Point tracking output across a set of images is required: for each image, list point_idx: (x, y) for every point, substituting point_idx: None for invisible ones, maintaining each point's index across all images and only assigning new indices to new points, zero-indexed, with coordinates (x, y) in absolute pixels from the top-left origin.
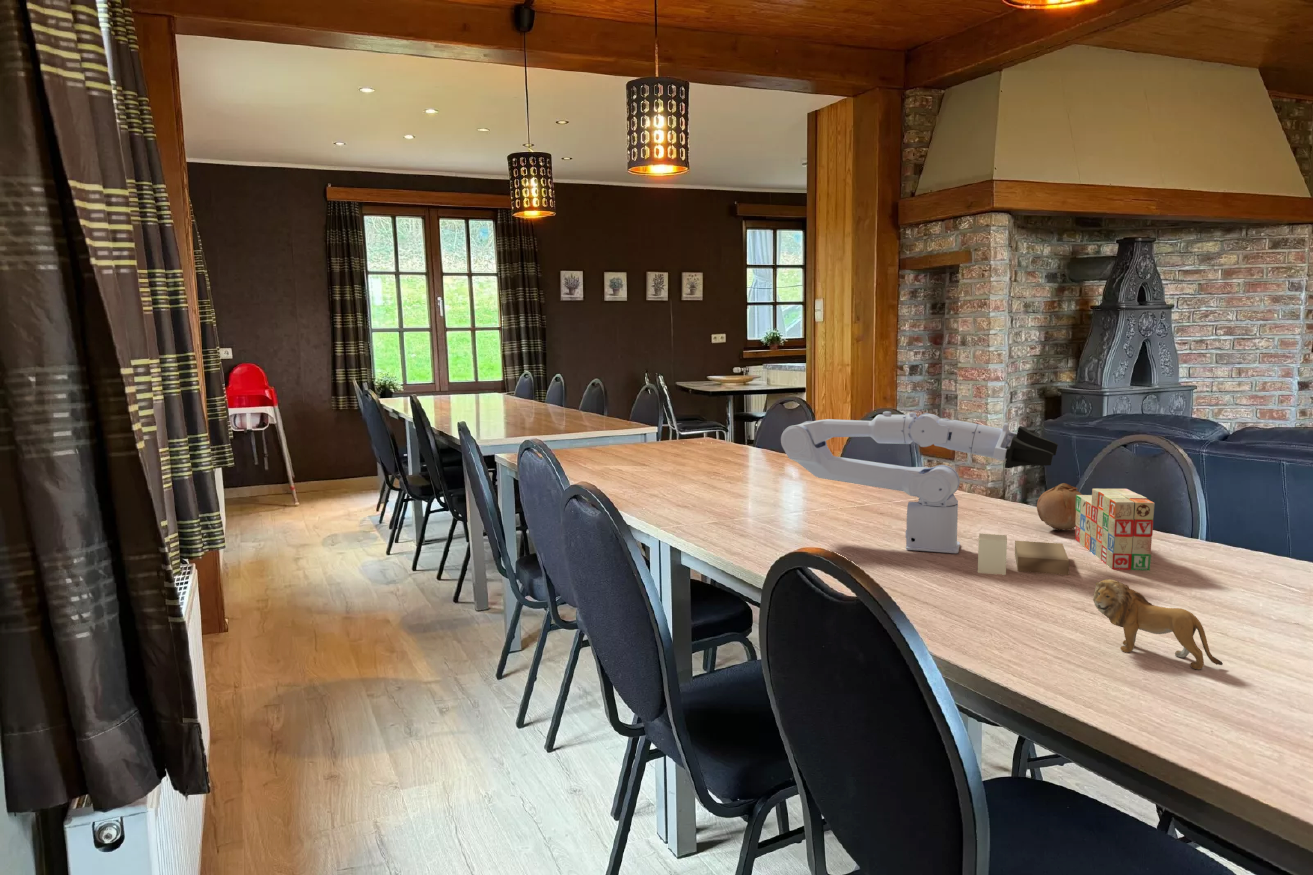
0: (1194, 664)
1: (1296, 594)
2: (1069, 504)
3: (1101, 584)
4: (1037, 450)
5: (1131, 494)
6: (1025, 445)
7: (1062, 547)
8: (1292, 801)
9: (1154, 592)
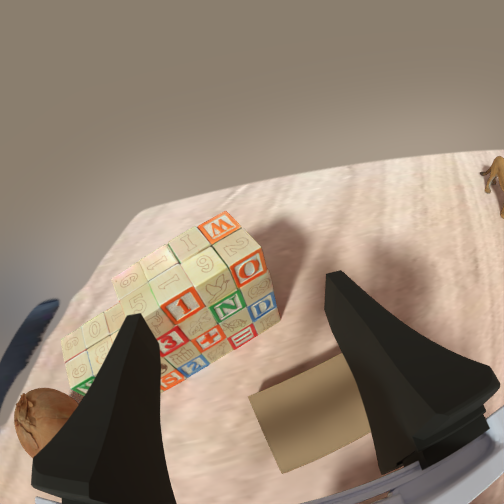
0: (495, 180)
1: (258, 184)
2: (66, 410)
3: None
4: (384, 309)
5: (167, 254)
6: (432, 342)
7: (280, 385)
8: None
9: (354, 250)
